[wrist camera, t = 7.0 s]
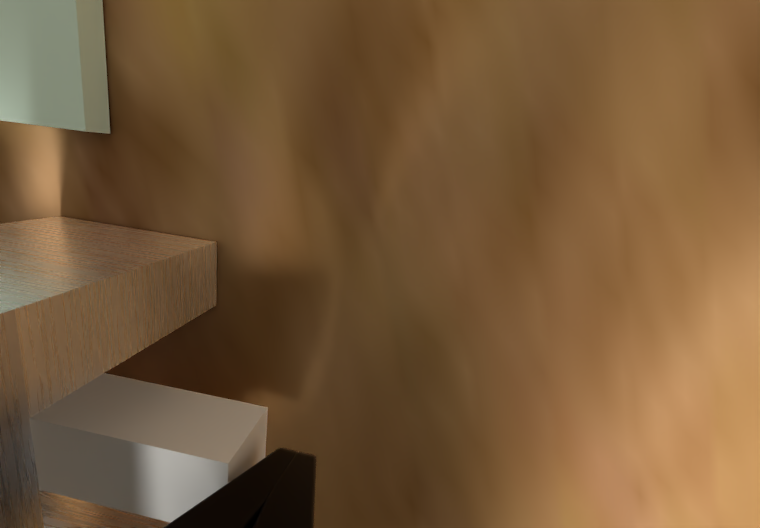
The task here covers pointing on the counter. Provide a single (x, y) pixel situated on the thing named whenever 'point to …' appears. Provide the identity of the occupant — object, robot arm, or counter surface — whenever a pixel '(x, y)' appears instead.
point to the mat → (54, 64)
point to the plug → (144, 445)
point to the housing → (81, 336)
